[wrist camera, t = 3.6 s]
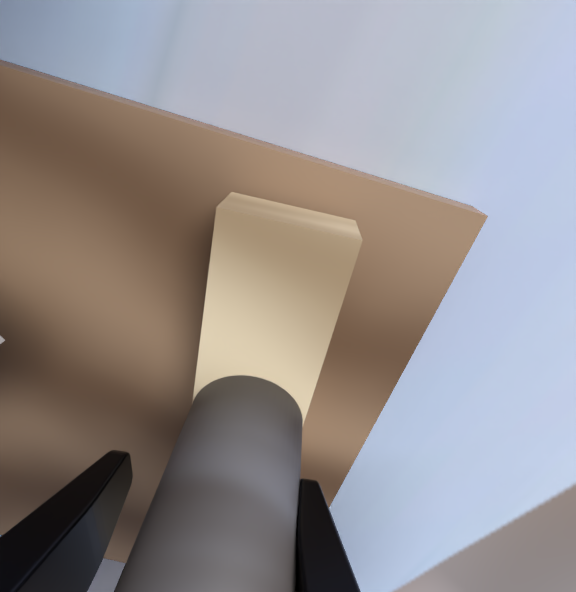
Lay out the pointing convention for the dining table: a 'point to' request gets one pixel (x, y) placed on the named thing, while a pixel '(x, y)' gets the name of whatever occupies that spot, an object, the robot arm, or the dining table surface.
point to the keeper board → (175, 286)
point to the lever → (247, 404)
